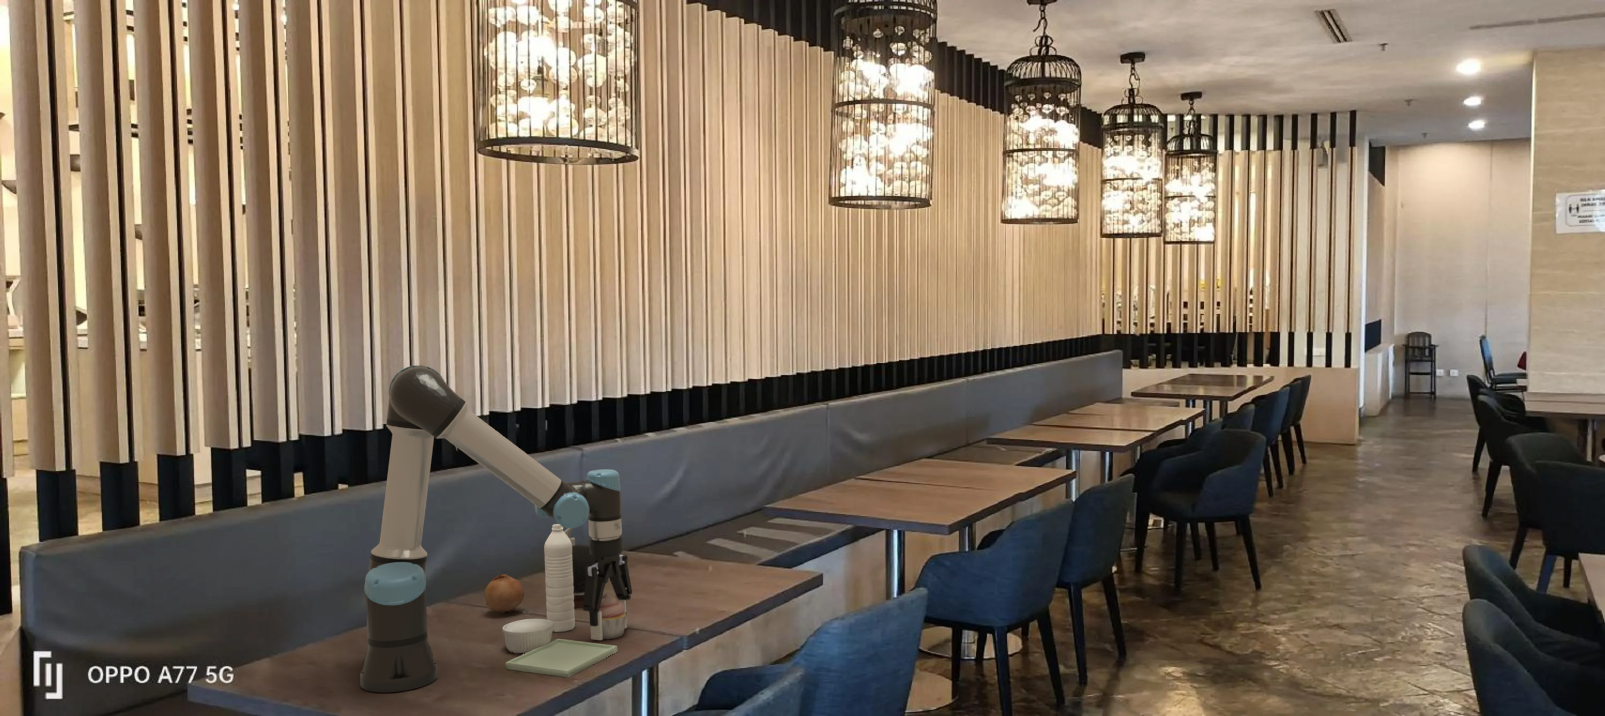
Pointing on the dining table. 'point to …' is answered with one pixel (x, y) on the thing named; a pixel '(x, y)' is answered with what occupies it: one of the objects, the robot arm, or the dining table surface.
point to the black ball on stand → (580, 572)
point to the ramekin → (527, 634)
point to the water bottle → (559, 580)
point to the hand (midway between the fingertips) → (609, 633)
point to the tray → (561, 657)
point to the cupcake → (612, 617)
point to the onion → (504, 594)
